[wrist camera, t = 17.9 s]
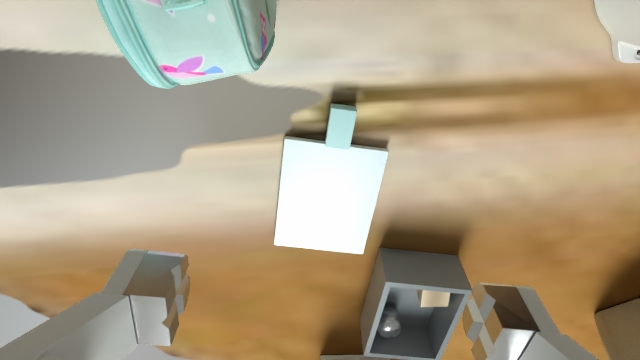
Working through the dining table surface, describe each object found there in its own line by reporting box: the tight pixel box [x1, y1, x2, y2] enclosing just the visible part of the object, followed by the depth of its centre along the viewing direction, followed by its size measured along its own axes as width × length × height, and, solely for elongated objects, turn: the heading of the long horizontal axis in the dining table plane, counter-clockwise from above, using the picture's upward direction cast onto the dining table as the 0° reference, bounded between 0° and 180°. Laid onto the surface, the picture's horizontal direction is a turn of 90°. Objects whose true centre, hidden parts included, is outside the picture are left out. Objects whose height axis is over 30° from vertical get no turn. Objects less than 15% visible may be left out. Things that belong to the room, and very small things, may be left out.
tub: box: [360, 247, 472, 360], centre depth 61 cm, size 12×16×7 cm
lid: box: [274, 103, 389, 254], centre depth 53 cm, size 13×22×2 cm, turn 172°
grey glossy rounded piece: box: [377, 302, 401, 338], centre depth 64 cm, size 4×4×4 cm
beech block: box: [416, 289, 450, 307], centre depth 60 cm, size 4×4×4 cm
